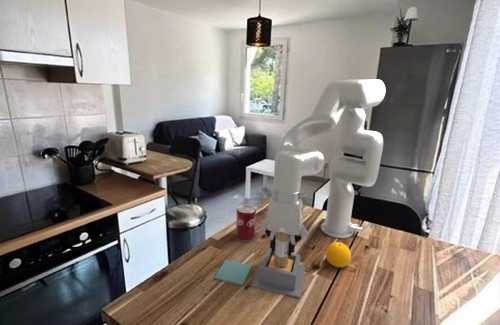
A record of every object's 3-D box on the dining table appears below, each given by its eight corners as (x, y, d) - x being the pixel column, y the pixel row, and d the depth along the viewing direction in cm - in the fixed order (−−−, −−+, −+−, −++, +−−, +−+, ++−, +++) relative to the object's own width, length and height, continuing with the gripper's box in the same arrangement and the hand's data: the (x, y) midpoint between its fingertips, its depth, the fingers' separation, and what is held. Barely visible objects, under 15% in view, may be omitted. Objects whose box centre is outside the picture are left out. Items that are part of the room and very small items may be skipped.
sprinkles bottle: (283, 256, 83) (286, 217, 80) (291, 265, 80) (294, 224, 76) (270, 260, 82) (273, 220, 78) (278, 269, 78) (281, 227, 74)
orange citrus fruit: (350, 260, 91) (353, 241, 89) (348, 274, 84) (351, 253, 82) (326, 254, 94) (329, 235, 92) (322, 266, 87) (325, 246, 85)
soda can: (255, 233, 106) (256, 205, 103) (253, 243, 99) (255, 213, 96) (237, 231, 107) (238, 204, 104) (234, 241, 100) (235, 212, 97)
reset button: (293, 264, 83) (293, 259, 83) (289, 278, 77) (290, 273, 77) (271, 259, 85) (272, 255, 85) (267, 273, 79) (267, 268, 78)
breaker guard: (305, 267, 86) (306, 252, 85) (300, 298, 73) (301, 281, 72) (263, 258, 90) (264, 244, 89) (251, 286, 77) (252, 270, 76)
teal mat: (251, 267, 86) (251, 265, 86) (242, 285, 78) (242, 283, 77) (225, 261, 88) (225, 259, 88) (214, 278, 80) (214, 276, 80)
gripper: (317, 194, 76) (311, 250, 81) (260, 186, 81) (257, 240, 85) (315, 204, 69) (309, 265, 74) (253, 195, 74) (251, 253, 78)
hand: (281, 251), depth 80 cm, fingers closed on sprinkles bottle, 4 cm apart
